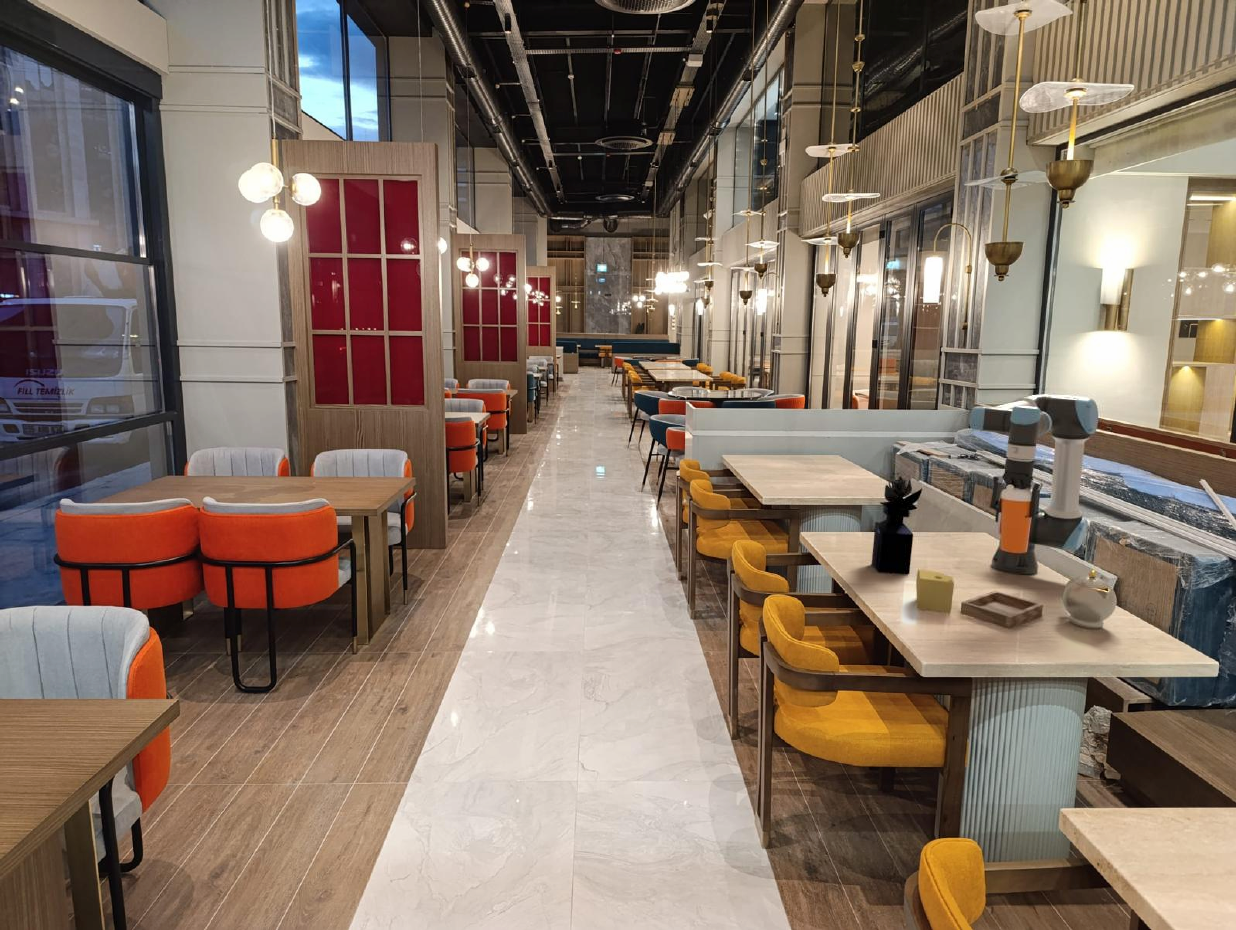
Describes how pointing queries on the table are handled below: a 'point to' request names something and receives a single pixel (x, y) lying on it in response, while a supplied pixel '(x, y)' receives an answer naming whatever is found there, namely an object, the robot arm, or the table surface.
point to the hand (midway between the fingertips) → (1010, 535)
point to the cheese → (934, 591)
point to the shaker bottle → (1015, 518)
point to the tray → (1001, 609)
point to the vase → (895, 530)
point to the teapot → (1089, 601)
